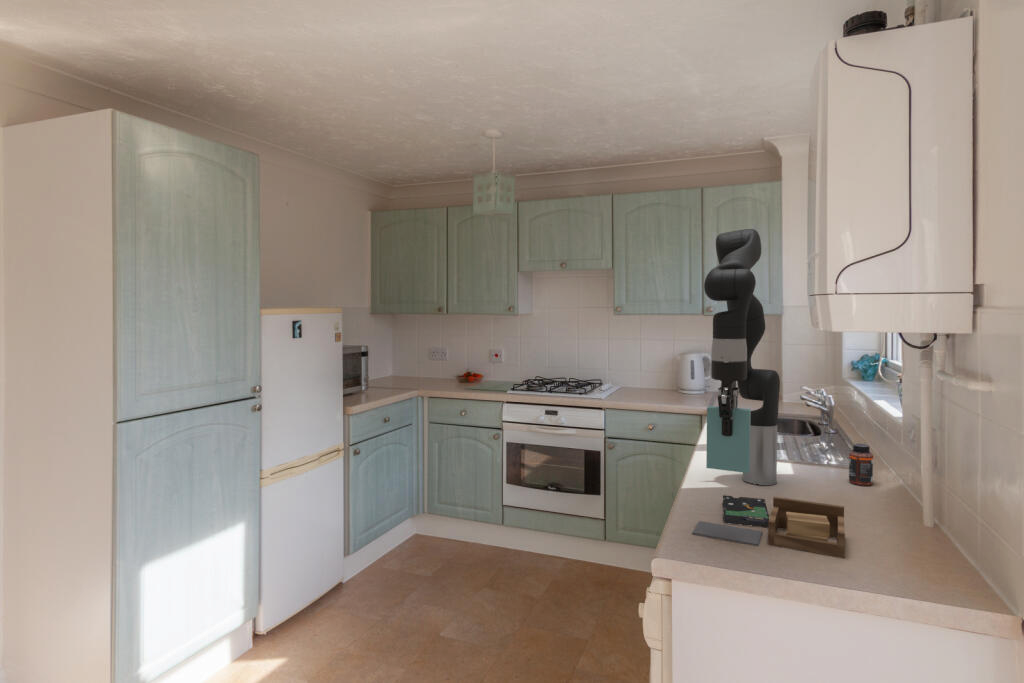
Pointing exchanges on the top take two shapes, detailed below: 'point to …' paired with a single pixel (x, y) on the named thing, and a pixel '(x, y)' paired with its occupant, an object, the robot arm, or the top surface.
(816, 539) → the oak block lower
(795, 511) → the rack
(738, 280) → the robot arm
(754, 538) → the grey mat
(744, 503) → the disk drive
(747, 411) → the teal board
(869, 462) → the supplement bottle
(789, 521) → the oak block upper
